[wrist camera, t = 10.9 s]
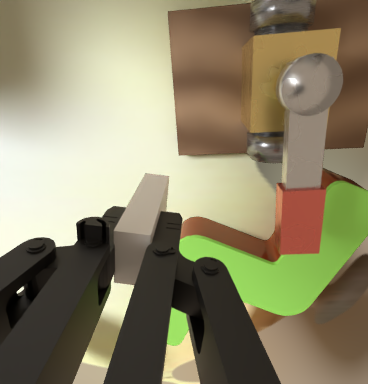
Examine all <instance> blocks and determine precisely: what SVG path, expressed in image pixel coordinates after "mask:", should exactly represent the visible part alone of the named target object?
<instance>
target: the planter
mask: <svg viewBox="0 0 368 384" xmlns="http://www.w3.org/2000/svg"><path fill="white" fill-rule="evenodd" d="M321 185H322V186H323V187H324V188H325V189H326V198H325V207H324V216H323V225H322V233H321V242H320V251H319V254H290V255H280V254H279V251H278V249H277V246H276V244H275V231H274V233H273V234H272V236H271V237H270V239H268V240H261V239H258V238H256V237H253V236H251V235H248V234H245V233H243V232H240V231H238V230H235V229H232V228H230V227H227V226H225V225H222V224H220V223H217V222H214V221H212V220H209V219H207V218H203V217H191V218H189V219H187V220H185V221H184V222H183V223H182V228H181V236H180V244H179V251H180V253H181V254H182V255H183V256H184V257H185V258H187V259H189V260H191V261H194V262H195V261H196V260H197V259H199V258H202V257H213V258H216V259H218V260H220V261H221V262H223V263H224V264H225V266H226V267H227V269H228V271H229V273H230V275H231V278H232V280H233V282H234V284H235V286H236V288H237V290H238V293H239V295H240V297H241V299H242V301H243V302H245V303H248V304H251V305H253V306H256V307H259V308H261V309H264V310H267V311H269V312H272V313H275V314H278V315H283V316H290V315H296V314H298V313H301V312H303V311H305V310H306V309H307V308H308V307H310V305H311V304H312V303H313V302H314V300H315V299H316V298H317V297H318V296H319V294H320V293H321V292H322V291H323V290H324V288H325V287H326V286H327V285H328V283H329V282H330V281H331V280H332V279H333V277H334V276H335V275H336V274H337V272H338V271H339V270H340V269H341V268H342V266H343V265H344V264H345V263H346V261H347V260H348V259H349V258H350V257H351V255H352V254H353V253H354V252H355V250H356V249H357V248H358V247H359V246H360V244H361V243H362V242H363V241H364V239H365V238H366V237H367V236H368V191H367V190H366V189H364V188H362V187H361V186H360V185H358V184H357V183H355V182H354V181H353V180H351V179H348V178H346V177H344V176H341V175H339V174H336V173H334V172H332V171H329V170H327V169H324V168H322V177H321ZM188 330H189V328H188V323H187V318H186V314H185V313H183V312H181V311H178V310H176V309H174V308H172V309H171V316H170V323H169V331H168V339H167V344H168V345H172V346H176V345H179V344H180V343H181V342H182V341H183V339H184V337H185V335H186V334H187V332H188Z"/></svg>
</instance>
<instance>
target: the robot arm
mask: <svg viewBox="0 0 368 384" xmlns="http://www.w3.org/2000/svg"><path fill="white" fill-rule="evenodd" d="M168 184H169V176H163V175H155V174H147V173H145V175H144V177H143V179H142V181H141V182H140V184H139V186H138V188H137V190H136V191H135V193H134V195H133V197H132V199H131V200H130V202H129V204H128V206H127V208H125V207H117V206H113V207H112V208H110V209H108V210H107V211H106V212H105V214H104V215H103V217H102V218H101V217H88V218H84V219H82V220H80V221H79V222H77V223H76V226H77V239H78V241H77V242H76V243H75V245H72V246H63V247H56V246H55V242H54V241H53V240H51V239H50V238H44V237H42V238H34V239H30V240H28V241H26V242H24V243H22V244H20V245H19V246H17V247H16V248H14V249H13V250H11V251H10V252H8V253H6V254H5V255H3V256H2V257H0V384H72V383H73V381H74V379H75V376H76V374H77V371H78V369H79V366H80V364H81V362H82V359H83V357H84V354H85V352H86V349H87V347H88V345H89V342H90V340H91V337H92V335H93V332H94V330H95V328H96V325H97V323H98V320H99V318H100V315H101V313H102V311H103V308H104V306H105V303H106V301H107V298H108V296H109V294H110V290H111V280H112V277H113V275H114V282H115V283H123V284H131V285H135V286H134V289H133V292H132V295H131V298H130V301H129V305H128V308H127V311H126V314H125V317H124V320H123V323H122V327H121V330H120V333H119V336H118V339H117V342H116V346H115V349H114V352H113V355H112V358H111V361H110V364H109V368H108V371H107V374H106V377H105V380H104V384H162V377H163V370H164V362H165V354H166V347H167V339H168V331H169V323H170V316H171V309H172V308H174V309H176V310H178V311H181V312H183V313H185V314H186V318H187V323H188V328H189V332H190V337H191V342H192V346H193V351H194V356H195V360H196V365H197V369H198V374H199V379H200V384H281V383H280V381H279V378H278V376H277V374H276V372H275V370H274V368H273V365H272V363H271V361H270V359H269V357H268V355H267V353H266V350H265V348H264V346H263V344H262V342H261V340H260V338H259V335H258V333H257V331H256V329H255V327H254V325H253V323H252V320H251V318H250V316H249V314H248V312H247V310H246V308H245V305H244V303H243V301H242V299H241V297H240V295H239V293H238V290H237V288H236V286H235V284H234V282H233V280H232V278H231V275H230V273H229V271H228V269H227V267H226V266H225V264H224V263H223V262H221V261H220V260H218V259H216V258H213V257H202V258H199V259H197V260H196V261H195V262H194V261H191V260H189V259H187V258H185V257H184V256H183V255H182V254H181V253H180V251H179V244H180V236H181V228H182V217H181V215H180V214H179V213H172V212H166V207H167V195H168ZM23 286H24V290H23V291H22V292H20V293H18V294H17V291H18V290H19V289H20V288H21V287H23Z"/></svg>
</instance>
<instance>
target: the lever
mask: <svg viewBox="0 0 368 384" xmlns="http://www.w3.org/2000/svg"><path fill="white" fill-rule="evenodd" d="M342 85H343V73H342V69H341V67H340V65H339V63H338V62H337V61H336V60H335V59H334V57H331V56H329V55H327V54H323V53H313V54H308V55H305V56H301V57H298V58H296V59H294V60H292V61H291V62H288V63H287V65H286V66H285V67H284V68H283V69H282V71H281V73H280V74H279V76H278V79H277V83H276V96H277V99H278V101H279V103H280V104H281V105H282V107H284V108H285V115H284V139H283V164H282V165H283V166H282V183H277V190H276V220H275V244H276V246H277V249H278V251H279V254H280V255H290V254H319V251H320V242H321V233H322V225H323V216H324V207H325V198H326V189H325V188H324V187H323V186H322V185H321V177H322V167H323V156H324V148H325V138H326V128H327V118H328V109H329V107H330V106H331V105H332V104H333V103H334V102H335V101H336V99H337V98H338V96H339V94H340V92H341V89H342Z"/></svg>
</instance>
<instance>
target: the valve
mask: <svg viewBox="0 0 368 384" xmlns="http://www.w3.org/2000/svg"><path fill="white" fill-rule="evenodd" d="M315 8H316V0H254V1H253V2H252V3H251V4H250V32H251V33H254V36H253V37H252V38H251V39H250V40H249V41H248V42H247V43H246V44H245V45H244V46H243V47H242V89H241V122H242V123H243V124H244V125H245V127H246V128H247V129H248V130H249V132H247V154H248V155H250V158H251V159H253V160H255V161H258V162H265V163H283V139H284V115H285V108H284V107H282V105H281V104H280V103H279V101H278V99H277V96H276V83H277V79H278V76H279V74H280V73H281V71H282V69H283V68H284V67H285V66H286V65H287V63H288V62H291V61H292V60H294V59H296V58H298V57H301V56H305V55H308V54H313V53H323V54H327V55H329V56H331V57H334V59H335V60H337V53H338V46H339V39H340V32H341V28H335V29H324V30H313V31H308V27H309V26H311V25H313V24H314V17H315ZM329 109H330V107H329ZM329 109H328V116H329ZM327 123H328V118H327ZM326 129H327V128H326Z"/></svg>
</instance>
